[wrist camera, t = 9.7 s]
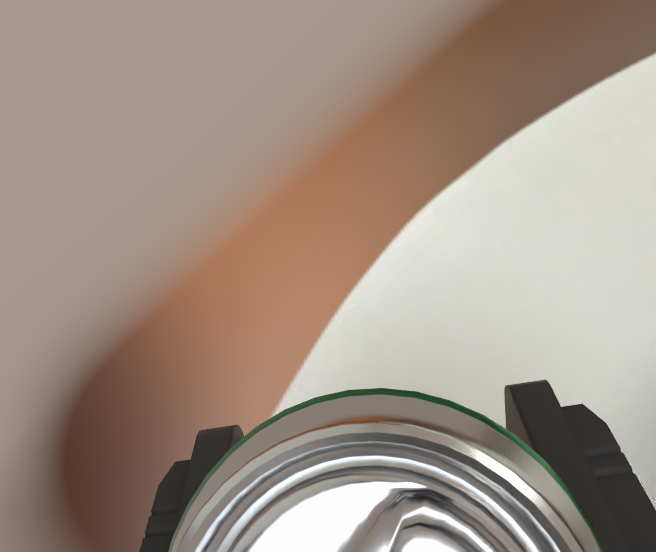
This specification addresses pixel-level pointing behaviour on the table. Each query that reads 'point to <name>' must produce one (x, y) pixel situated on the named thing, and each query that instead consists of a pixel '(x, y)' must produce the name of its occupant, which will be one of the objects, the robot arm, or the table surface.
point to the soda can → (383, 484)
